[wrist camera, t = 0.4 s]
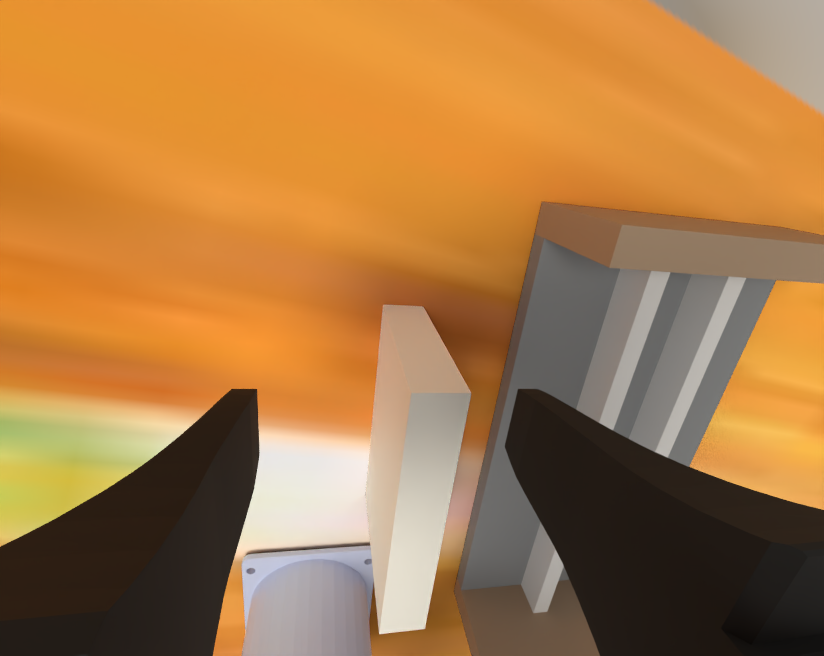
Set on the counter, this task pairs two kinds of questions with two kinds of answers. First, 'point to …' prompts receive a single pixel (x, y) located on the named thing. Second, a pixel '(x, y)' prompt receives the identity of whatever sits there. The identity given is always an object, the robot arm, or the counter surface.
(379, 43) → the counter surface
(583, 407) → the cabinet base
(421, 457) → the door panel
